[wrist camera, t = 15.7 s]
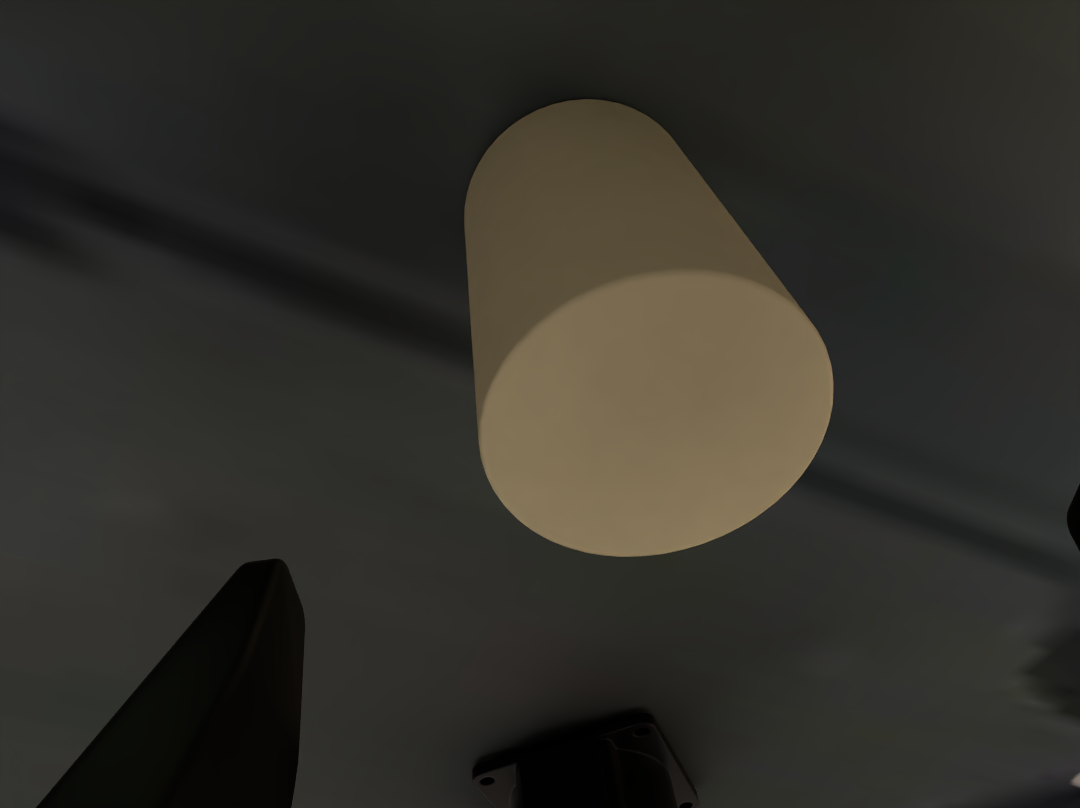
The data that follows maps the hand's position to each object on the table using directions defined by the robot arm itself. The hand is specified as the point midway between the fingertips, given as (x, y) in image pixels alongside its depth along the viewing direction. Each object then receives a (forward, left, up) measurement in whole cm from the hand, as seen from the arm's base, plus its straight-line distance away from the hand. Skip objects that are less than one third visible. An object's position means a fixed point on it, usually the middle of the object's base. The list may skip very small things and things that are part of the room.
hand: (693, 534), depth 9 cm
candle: (0, 0, -9) cm, 9 cm away
